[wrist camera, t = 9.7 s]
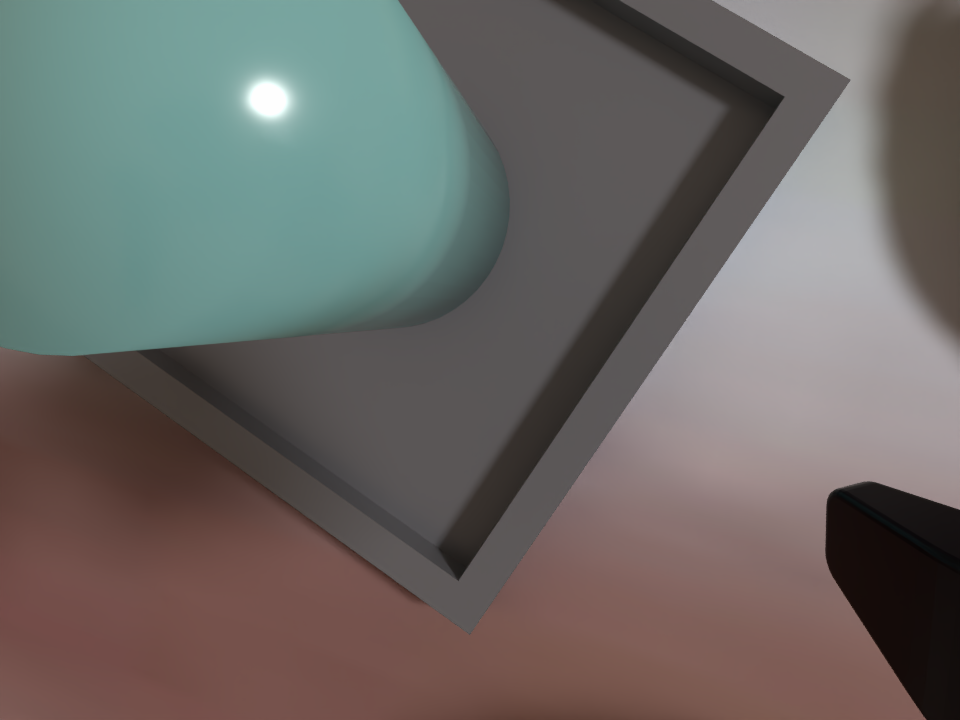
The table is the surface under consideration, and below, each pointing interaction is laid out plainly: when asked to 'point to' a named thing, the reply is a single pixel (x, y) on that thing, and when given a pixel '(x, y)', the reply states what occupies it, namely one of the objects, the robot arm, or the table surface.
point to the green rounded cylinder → (233, 174)
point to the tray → (518, 287)
